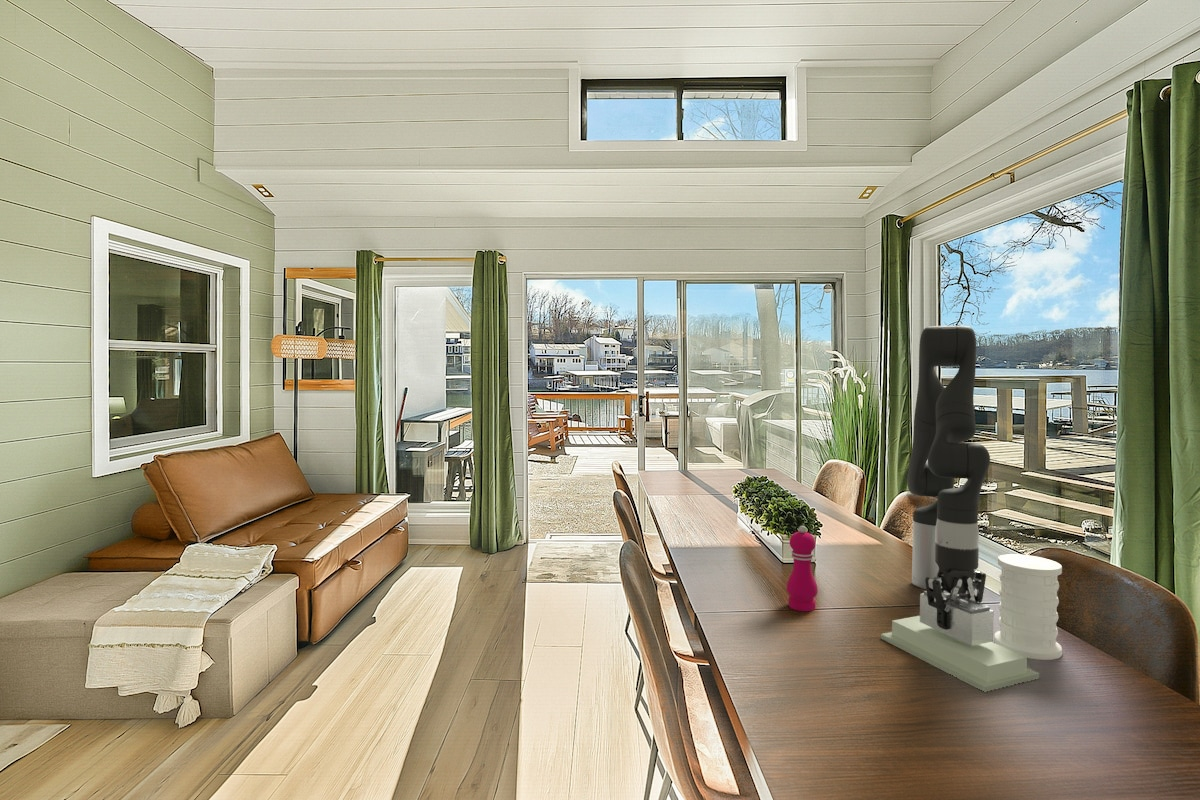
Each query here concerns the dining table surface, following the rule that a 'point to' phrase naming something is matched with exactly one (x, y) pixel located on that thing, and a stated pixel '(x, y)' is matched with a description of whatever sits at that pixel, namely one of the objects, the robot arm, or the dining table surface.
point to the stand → (961, 655)
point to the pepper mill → (802, 572)
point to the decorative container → (1029, 606)
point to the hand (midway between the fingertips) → (955, 625)
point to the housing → (961, 619)
